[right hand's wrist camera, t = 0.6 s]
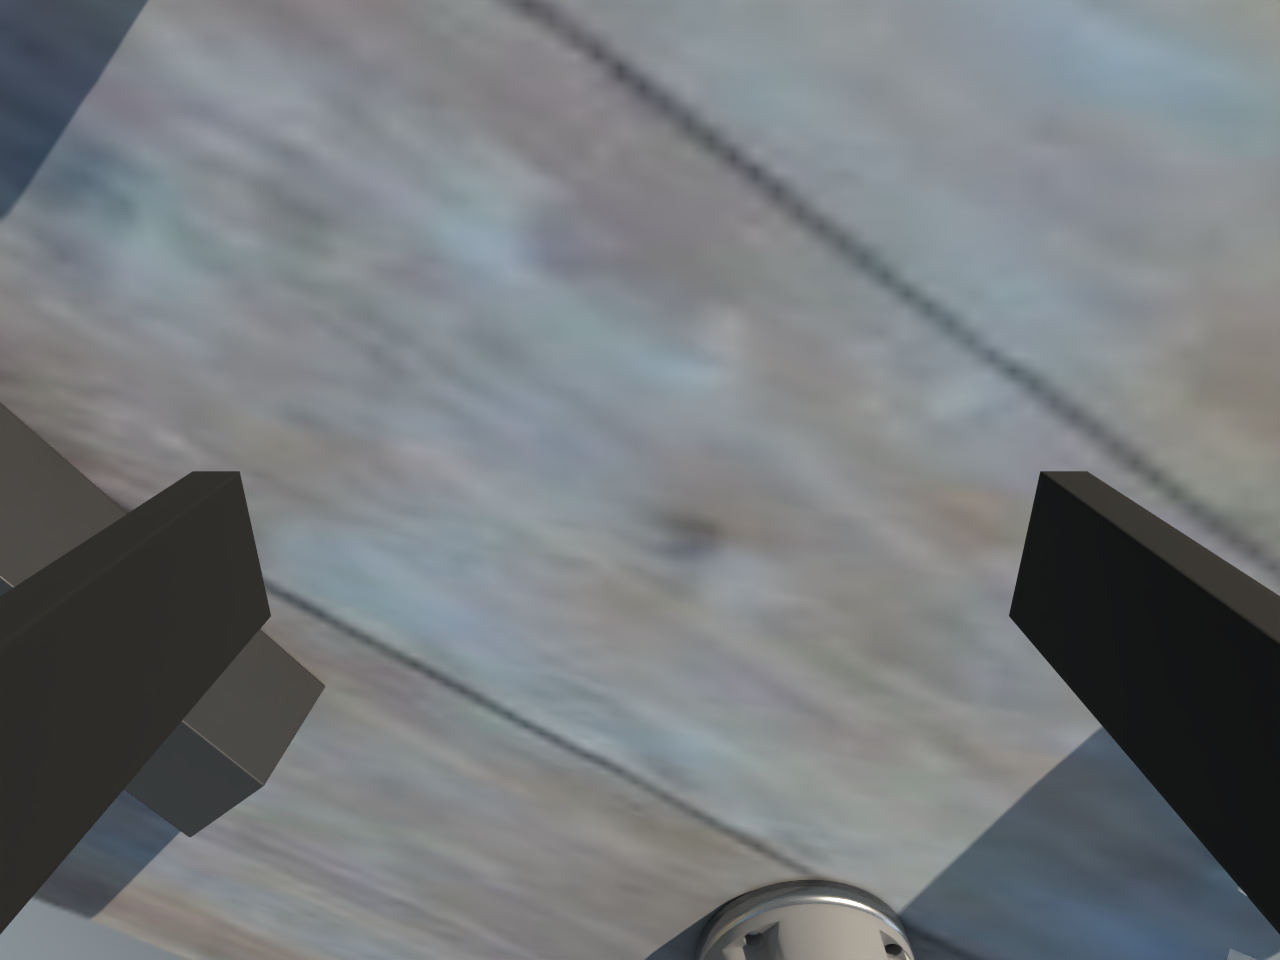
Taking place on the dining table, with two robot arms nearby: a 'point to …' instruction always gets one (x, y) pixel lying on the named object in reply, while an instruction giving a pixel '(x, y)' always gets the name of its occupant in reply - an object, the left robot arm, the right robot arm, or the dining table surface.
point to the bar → (231, 708)
